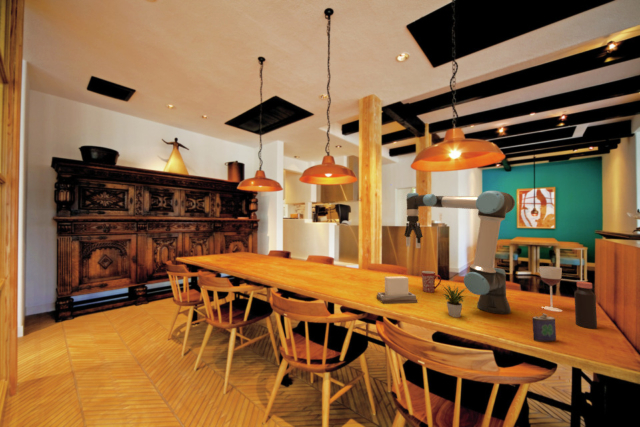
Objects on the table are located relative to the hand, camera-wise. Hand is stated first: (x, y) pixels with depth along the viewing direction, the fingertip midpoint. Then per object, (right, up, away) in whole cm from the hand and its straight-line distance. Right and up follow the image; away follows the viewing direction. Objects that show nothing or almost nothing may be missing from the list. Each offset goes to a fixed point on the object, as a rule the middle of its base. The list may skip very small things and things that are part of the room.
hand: (413, 247), depth 166 cm
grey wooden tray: (-16, -31, -14) cm, 37 cm away
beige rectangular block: (-16, -29, -14) cm, 36 cm away
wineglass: (+67, -31, -28) cm, 79 cm away
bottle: (+61, -30, -52) cm, 85 cm away
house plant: (+5, -30, -39) cm, 49 cm away
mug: (+15, -32, +6) cm, 36 cm away
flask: (+28, -29, -67) cm, 78 cm away
